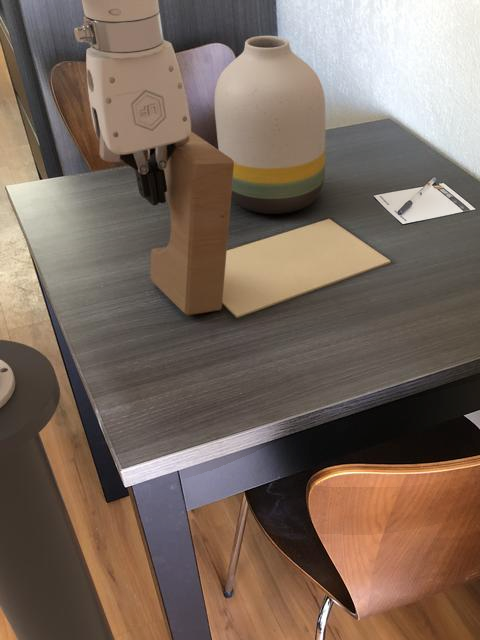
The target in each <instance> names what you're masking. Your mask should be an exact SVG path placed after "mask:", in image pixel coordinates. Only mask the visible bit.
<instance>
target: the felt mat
mask: <svg viewBox="0 0 480 640" xmlns="http://www.w3.org/2000/svg"><path fill="white" fill-rule="evenodd" d="M388 264H391V260H390V259H389V258H387V257H386V256H384V255H383V254H381V253H380V252H378V251H377V250H375V249H374V248H373V247H371V246H369V245H368V244H366V242H364V241H362V240H361V239H360V238H358V237H357V236H355V235H354V234H353V233H351V232H349V231H348V230H347V229H345V228H343V227H342V226H340V225H339V224H337V223H336V222H335V221H333V220H332V219H330V218H327V219H324V220H321V221H316V222H315V223H314V222H313V223H311V224H308V225H304V226H301V227H298V228H295V229H292V230H289V231H285V232H282V233H279V234H276V235H272V236H270V237H266V238H262V239H259V240H256V241H253V242H250V243H247V244H244V245H240V246H237V247H233V248H232V249H227V252H226V265H225V277H224V288H223V300H222V306H224V307H225V308H226V309H227V310H228V311H229V312H230V313H231V314H232V315H233V316H234V317H235V318H236V319H237V318H241V317H243V316H246V315H249V314H251V313H255V312H257V311H260V310H262V309H266V308H268V307H271V306H275V305H277V304H281V303H282V302H285V301H288V300H291V299H293V298H296V297H299V296H303V295H305V294H308V293H310V292H314V291H316V290H319V289H321V288H324V287H327V286H330V285H333V284H335V283H338V282H341V281H344V280H346V279H349V278H352V277H355V276H358V275H360V274H363V273H366V272H368V271H371V270H375V269H377V268H380V267H383V266H385V265H388Z"/></svg>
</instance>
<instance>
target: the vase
mask: <svg viewBox="0 0 480 640" xmlns="http://www.w3.org/2000/svg"><path fill="white" fill-rule="evenodd" d="M325 98H326V97H325V92H324V89H323V85H322V82H321V80H320V78H319V76H318V74H317V72H316V71H315V70H314V69H313V67H311V66H310V64H308V62H306V61H304V60H303V59H302V58H300V57H299V56H298V55H297V54H295V53H294V51H292V48H291V45H290V41H289V40H288V39H287V38H284V37H282V36H277V35H258V36H252V37H250V38H248V39H246V40H245V42H244V49H243V51H242V52H241V53H240V54H239V55H238V56H237V57H236V58H235V59H233V60H232V61H231V62H230V63H229V64H228V65H227V66H226V67H225V68H224V69H223V71H222V72H221V73H220V75H219V77H218V79H217V83H216V86H215V89H214V100H213V103H214V104H213V105H214V119H215V127H216V128H215V129H216V137H217V147H218V148H217V149H218V150H219V151H221V152H222V153H224V154H225V155H227V156H228V157H230V158H231V159H232V160H233V161H234V169H233V181H232V193H231V201H233V202H234V204H236V205H237V206H239V207H240V208H242V209H245V210H247V211H249V212H253V213H258V214H264V215H282V214H288V213H294V212H297V211H300V210H302V209H305V208H306V207H308V206H309V205H311V204H313V202H315V201H316V200H317V198H318V197H319V195H320V193H321V191H322V188H323V185H324V181H325V173H326V99H325Z"/></svg>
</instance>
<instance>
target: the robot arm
mask: <svg viewBox="0 0 480 640" xmlns="http://www.w3.org/2000/svg"><path fill="white" fill-rule="evenodd" d="M67 1H69V2H71V1H73V0H67ZM81 4H82V9H83V13H84V15H83V16H82V18H83V24H81V25H80V26H77V27H74V28H73V34H74V37H75V40H76V42H77V43H86V44H87V43H88V44H89V46H90V47H88V48H87V49H86V52H85V53H86V54H85V55H86V56H85V57H86V58H85V63H86V65H85V66H86V82H87V91H88V93H87V94H88V101H89V109H90V114H91V120H92V125H93V129H94V133H95V137H96V138H97V140H98V141H99V152H98V153H99V157H100V159H101V160H103V161H104V162H105V163H125V164H126V165H128V166H129V167H130V168H133V169H134V171H135V176H136V182H137V183H136V184H137V188H138V193H139V195H140V196H141V198H144V199H145V200H146V201H147V202H148V203H149V204H150V205H152V206H153V207H155V206H158V205H159V204H166V203H167V197H166V193H165V192H167V185H166V179H165V173H164V169H165V168H166V167H167V161H168V159H169V158H170V156H171V154H172V153H173V151H174V149H175V148H177V147H180V146H182V145H184V144H186V143H188V142H189V135H190V133H191V131H192V122H191V114H190V109H189V104H188V99H187V95H186V90H185V89H186V88H185V85H184V81H183V77H182V72H181V70H180V66H179V63H178V58H177V55H176V53H175V49H174V47H173V44H172V42H170V41H168V40H166V39H164V34H163V27H162V19H161V13H160V5H159V0H81ZM144 151H147V159H146V155H145V152H144ZM15 385H16V383H15V377H14V374H13V372H12V369H11V368H10V367H9V365H8V364H6V363H5V362H4V361H2V360H0V408H1V407H2V406H3V405H5V404H6V402H7V401H8V400H9V399H10V397H11V396H12V394H13V392H14V390H15Z"/></svg>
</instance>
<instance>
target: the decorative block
mask: <svg viewBox="0 0 480 640" xmlns="http://www.w3.org/2000/svg"><path fill="white" fill-rule="evenodd" d="M233 169H234V161H233V160H232V159H231V158H230V157H228V156H227V155H225V154H224V153H222V152H221V151H219V149H218V148H216V147H215V146H213V145H212V144H210V143H209V142H208V141H207V140H205V139H204V138H202V137H200V136H199V135H197V134H196V133H195V132H193V131H192V130H191V133H190V135H189V142H188V143H186V144H184V145H182V146H180V147H177V148H175V149H174V151H173V153H172V154H171V156H170V158H169V159H168V161H167V167H166V168H165V169H164V173H165V179H166V185H167V192H165V197H166V201H167V203H168V208H169V212H170V235H169V242H168V244H167V246H162V247H153V248H152V249H151V250H150V274H149V275H150V276H149V277H150V281H151V282H152V283H153V284H154V285H155V286H156V287H157V288H158V289H159V290H160V291H161V292H162V293H163V294H164V295H165V296H166V297H167V299H169V300H170V301H171V302H172V303H173V304H174V305H175V306H176V307H177V308H179V310H181V312H182V313H183V314H185V316H187V317H188V316H192V315H193V316H194V315H200V314H206V313H211V312H212V313H213V312H219V311H221V310H222V308H223V304H222V300H223V288H224V277H225V265H226V252H227V250H228V240H229V239H228V238H229V227H230V215H231V204H232V203H231V202H232V199H231V193H232V181H233Z"/></svg>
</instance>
